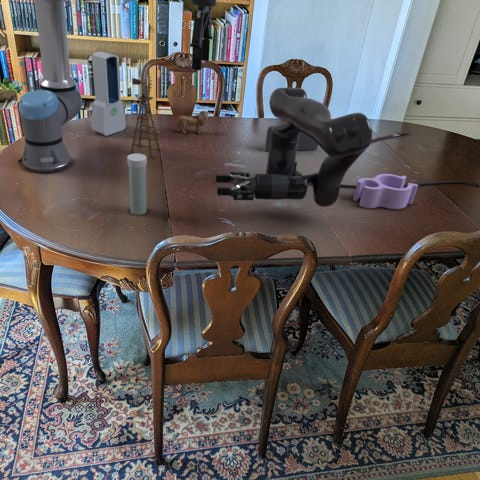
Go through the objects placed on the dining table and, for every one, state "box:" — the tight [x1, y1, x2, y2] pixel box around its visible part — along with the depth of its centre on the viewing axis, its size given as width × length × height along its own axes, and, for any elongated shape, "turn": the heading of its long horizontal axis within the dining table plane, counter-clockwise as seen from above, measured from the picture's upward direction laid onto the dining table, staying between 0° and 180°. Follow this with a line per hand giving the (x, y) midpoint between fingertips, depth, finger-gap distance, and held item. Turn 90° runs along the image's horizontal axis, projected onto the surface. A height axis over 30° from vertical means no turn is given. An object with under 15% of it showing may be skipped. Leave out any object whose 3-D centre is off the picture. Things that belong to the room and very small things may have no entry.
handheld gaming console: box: [264, 125, 319, 152], centre depth 189 cm, size 23×3×10 cm, turn 108°
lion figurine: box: [173, 110, 209, 135], centre depth 195 cm, size 15×5×9 cm, turn 110°
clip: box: [352, 173, 419, 210], centre depth 157 cm, size 20×12×7 cm, turn 109°
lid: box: [126, 153, 148, 168], centre depth 130 cm, size 5×5×2 cm
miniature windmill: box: [130, 70, 160, 158], centre depth 168 cm, size 9×8×30 cm
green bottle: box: [128, 165, 148, 216], centre depth 134 cm, size 5×5×17 cm
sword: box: [371, 132, 410, 143], centre depth 214 cm, size 31×3×1 cm, turn 126°
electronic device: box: [90, 51, 127, 137], centre depth 182 cm, size 12×8×30 cm, turn 148°
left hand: (200, 65), depth 149 cm, fingers open, 13 cm apart
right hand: (216, 184), depth 136 cm, fingers open, 8 cm apart
